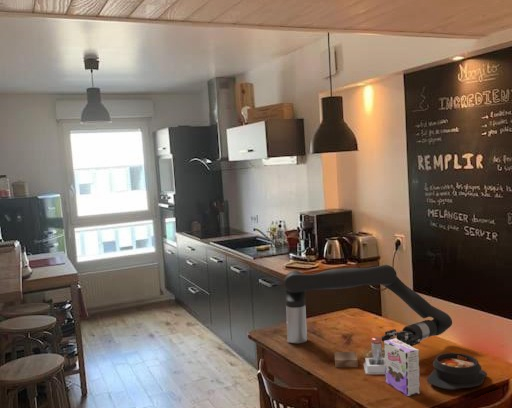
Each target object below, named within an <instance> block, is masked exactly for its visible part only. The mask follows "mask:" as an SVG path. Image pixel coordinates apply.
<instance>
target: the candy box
mask: <svg viewBox="0 0 512 408" xmlns="http://www.w3.org/2000/svg"><path fill="white" fill-rule="evenodd" d="M396 338H397V337H395V339H390V340H386V341H384V342H383V351H384V353H383V354H384V355H383V356H384V358H385V374H384V376H385V377H384V378H385V379H384V380H385V381H384V382H385V383H386V384H388V385H389V386H391V387H393V388H394V389H395V390H397V391H399V392H400V393H401V394H403V395H404V396H406V397H410V396H415V395H420V392H421V391H420V390H421V389H420V388H421V387H420V385H421V384H420V350H419V348H415V347H414V346H410V345H408V344H406V343H404V342H402V341H400V340H398V339H396Z"/></svg>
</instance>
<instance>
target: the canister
mask: <svg viewBox="0 0 512 408" xmlns="http://www.w3.org/2000/svg"><path fill="white" fill-rule="evenodd" d="M370 339H371V342H370V343H371V358H372V365H382V358H383V354H382V352H383V351H382V349H383V348H382V347H383V346H382V342H383V341H382V337H379V336H372V337H371V338H370Z"/></svg>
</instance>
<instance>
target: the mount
mask: <svg viewBox="0 0 512 408" xmlns="http://www.w3.org/2000/svg"><path fill="white" fill-rule="evenodd" d="M333 353H334V354H333V355H334V365H335V368H358V366H359V365H358V356H357V352H356V351H334V352H333Z"/></svg>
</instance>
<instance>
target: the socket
mask: <svg viewBox="0 0 512 408" xmlns="http://www.w3.org/2000/svg"><path fill="white" fill-rule="evenodd" d="M364 361H365V362H363V363H362V365H363V369H364V373H365V375H385V357H382V365H372V357H365V359H364Z"/></svg>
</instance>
